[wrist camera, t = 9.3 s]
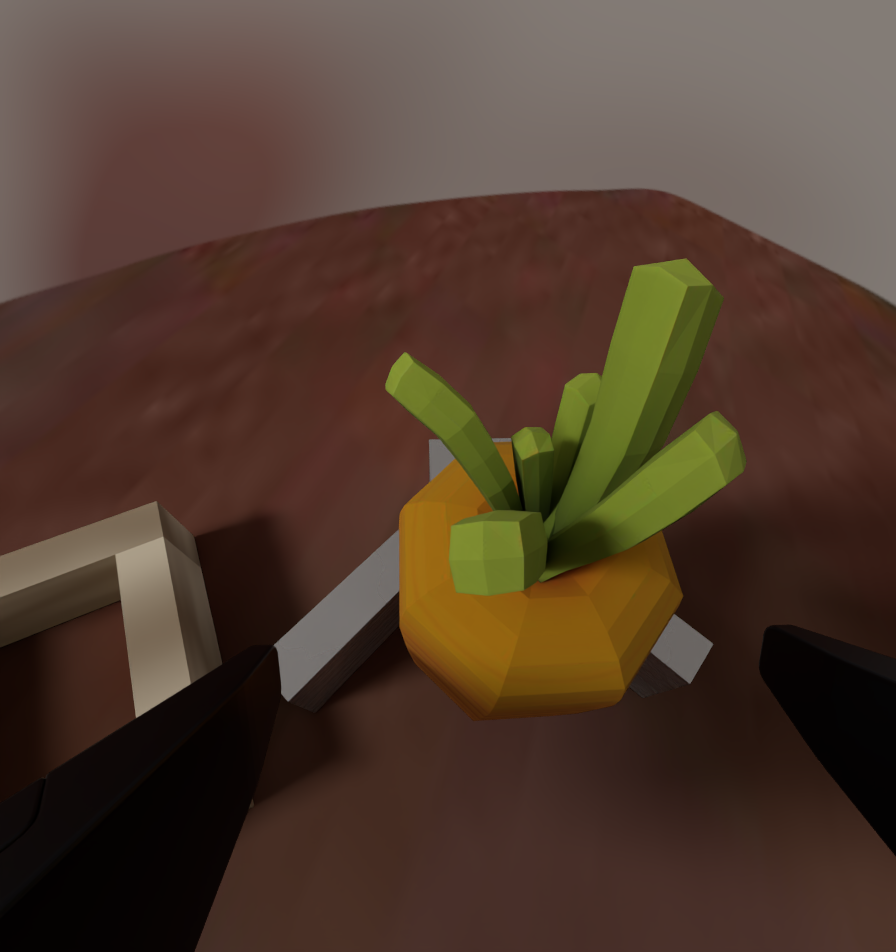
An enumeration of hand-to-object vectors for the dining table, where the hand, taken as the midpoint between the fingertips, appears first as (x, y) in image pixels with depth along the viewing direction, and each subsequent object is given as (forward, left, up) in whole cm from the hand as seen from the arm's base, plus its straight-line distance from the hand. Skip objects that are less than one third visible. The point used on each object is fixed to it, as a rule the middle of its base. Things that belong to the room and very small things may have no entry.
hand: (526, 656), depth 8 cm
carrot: (+1, +1, -9) cm, 9 cm away
